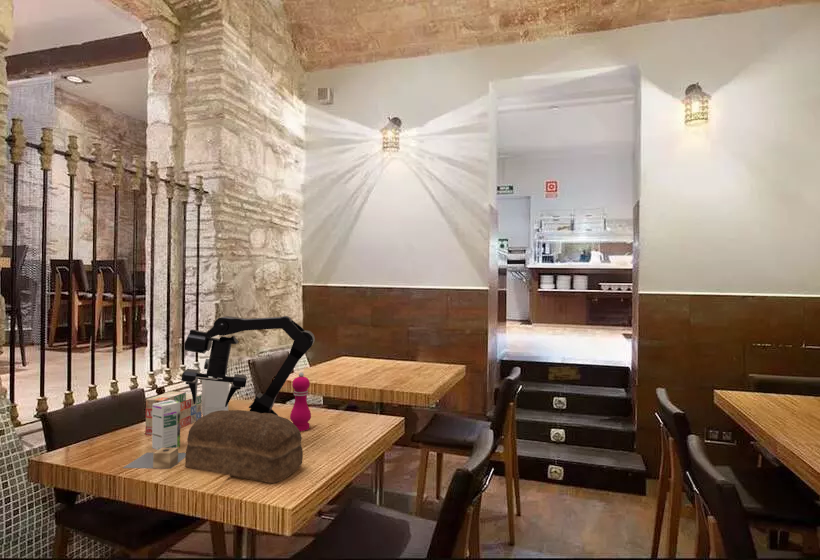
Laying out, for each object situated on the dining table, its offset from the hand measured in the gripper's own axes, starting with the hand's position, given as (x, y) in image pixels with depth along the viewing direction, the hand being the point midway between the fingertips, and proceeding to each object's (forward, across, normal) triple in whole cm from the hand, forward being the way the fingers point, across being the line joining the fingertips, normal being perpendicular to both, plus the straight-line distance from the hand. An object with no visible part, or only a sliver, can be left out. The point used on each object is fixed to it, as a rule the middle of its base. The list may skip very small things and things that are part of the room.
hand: (210, 405), depth 148 cm
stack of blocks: (+16, +12, -25) cm, 32 cm away
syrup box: (+15, +10, 0) cm, 18 cm away
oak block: (+13, +8, +17) cm, 22 cm away
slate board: (+14, +10, +12) cm, 21 cm away
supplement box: (+14, 0, -40) cm, 42 cm away
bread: (+10, -13, +22) cm, 28 cm away
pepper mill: (+9, -30, -11) cm, 33 cm away
